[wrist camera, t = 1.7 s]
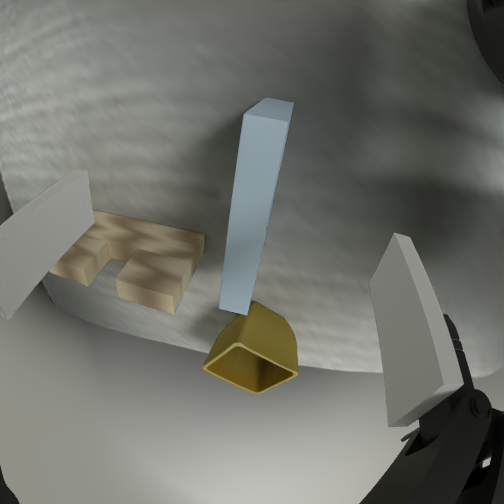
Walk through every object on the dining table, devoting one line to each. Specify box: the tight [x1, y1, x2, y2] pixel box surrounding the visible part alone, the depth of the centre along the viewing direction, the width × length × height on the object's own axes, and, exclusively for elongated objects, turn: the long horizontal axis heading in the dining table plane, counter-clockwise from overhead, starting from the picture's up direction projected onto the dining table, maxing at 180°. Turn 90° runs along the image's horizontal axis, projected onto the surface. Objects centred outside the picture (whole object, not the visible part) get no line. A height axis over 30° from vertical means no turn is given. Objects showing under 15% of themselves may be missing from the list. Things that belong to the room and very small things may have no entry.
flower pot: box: [202, 302, 298, 394], centre depth 36 cm, size 9×9×9 cm
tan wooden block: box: [49, 210, 205, 314], centre depth 30 cm, size 16×2×10 cm, turn 81°
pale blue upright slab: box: [219, 97, 294, 315], centre depth 24 cm, size 16×2×10 cm, turn 171°
